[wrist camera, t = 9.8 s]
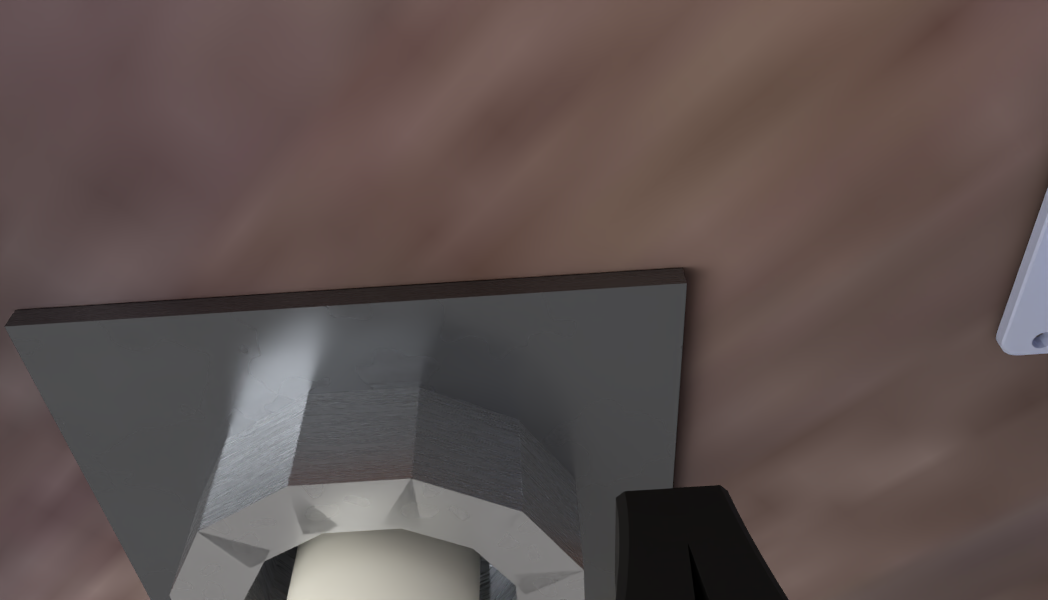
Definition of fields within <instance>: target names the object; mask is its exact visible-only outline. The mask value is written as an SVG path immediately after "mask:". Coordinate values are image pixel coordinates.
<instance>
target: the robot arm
mask: <svg viewBox="0 0 1048 600" xmlns="http://www.w3.org/2000/svg"><path fill="white" fill-rule="evenodd" d="M1041 333H1043V334H1042V335H1040V336H1038V337H1036V336H1037V335H1039V334H1041ZM996 340H997V342H998V344H999V345H1000V347H1001V348H1002V350H1003V351H1004V352H1005V353H1007V354H1009V355H1030V354H1046V353H1048V188H1047V191H1046V194H1045V197H1044V200H1043V202H1042V205H1041V208H1040V211H1039V214H1038V217H1037V220H1036V222H1035V225H1034V228H1033V231H1032V234H1031V237H1030V240H1029V242H1028V245H1027V248H1026V251H1025V254H1024V257H1023V260H1022V262H1021V265H1020V268H1019V271H1018V274H1017V277H1016V280H1015V282H1014V285H1013V288H1012V291H1011V294H1010V297H1009V300H1008V302H1007V305H1006V308H1005V311H1004V314H1003V317H1002V320H1001V322H1000V325H999V328H998V331H997V334H996ZM615 589H616V600H788V598H787V596H786V595H785V593H784V592H783V590H782V588H781V587H780V585H779V584H778V582H777V580H776V579H775V577H774V575H773V574H772V572H771V570H770V569H769V567H768V565H767V564H766V562H765V560H764V559H763V557H762V555H761V553H760V552H759V550H758V548H757V546H756V545H755V543H754V541H753V539H752V538H751V536H750V534H749V532H748V530H747V528H746V527H745V525H744V523H743V521H742V519H741V517H740V515H739V513H738V511H737V509H736V507H735V505H734V503H733V501H732V499H731V497H730V495H729V493H728V491H727V490H726V489H724V488H723V487H722V486H720V485H716V486H700V487H684V488H668V489H652V490H635V491H624V492H623V493H621V494H620V495H619V496H617V497H616V518H615Z"/></svg>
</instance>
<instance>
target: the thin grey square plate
mask: <svg viewBox="0 0 1048 600" xmlns="http://www.w3.org/2000/svg"><path fill="white" fill-rule="evenodd" d="M686 289H687V282H686V278H685V275H684V272H683V268H676V269H660V270H644V271H629V272H613V273H597V274H582V275H566V276H550V277H534V278H519V279H503V280H487V281H472V282H456V283H440V284H424V285H409V286H393V287H377V288H362V289H346V290H330V291H315V292H299V293H283V294H267V295H252V296H236V297H220V298H205V299H189V300H173V301H157V302H142V303H126V304H110V305H95V306H79V307H63V308H48V309H32V310H16V311H14V313H13V314H12V316H11V317H10V319H9V320H8V322H7V323H6V325H5V326H4V327H5V329H6V330H7V332H8V334H9V336H10V338H11V340H12V342H13V343H14V345H15V347H16V349H17V351H18V353H19V355H20V357H21V358H22V360H23V362H24V364H25V366H26V368H27V370H28V371H29V373H30V375H31V377H32V379H33V381H34V383H35V385H36V386H37V388H38V390H39V392H40V394H41V396H42V398H43V399H44V401H45V403H46V405H47V407H48V409H49V411H50V412H51V414H52V416H53V418H54V420H55V422H56V424H57V426H58V427H59V429H60V431H61V433H62V435H63V437H64V439H65V440H66V442H67V444H68V446H69V448H70V450H71V452H72V454H73V455H74V457H75V459H76V461H77V463H78V465H79V467H80V468H81V470H82V472H83V474H84V476H85V478H86V480H87V482H88V483H89V485H90V487H91V489H92V491H93V493H94V495H95V496H96V498H97V500H98V502H99V504H100V506H101V508H102V510H103V511H104V513H105V515H106V517H107V519H108V521H109V523H110V524H111V526H112V528H113V530H114V532H115V534H116V536H117V538H118V539H119V541H120V543H121V545H122V547H123V549H124V551H125V552H126V554H127V556H128V558H129V560H130V562H131V564H132V566H133V567H134V569H135V571H136V573H137V575H138V577H139V579H140V580H141V582H142V584H143V586H144V588H145V590H146V592H147V594H148V595H149V597H150V599H151V600H287V596H288V591H289V586H290V582H291V577H292V572H293V567H294V563H295V558H296V553H297V548H298V545H300V544H302V543H304V542H306V541H308V540H310V539H312V538H314V537H316V536H319V535H321V534H323V533H337V532H353V531H370V530H386V529H405V530H409V531H412V532H416V533H419V534H423V535H426V536H430V537H433V538H437V539H441V540H444V541H448V542H451V543H455V544H458V545H462V546H466V547H469V548H473V549H474V550H475V551H476V552H478V553H479V554H480V597H479V600H616V589H615V518H616V497H617V496H619V495H620V494H621V493H623V492H624V491H635V490H652V489H668V488H673V476H674V461H675V447H676V433H677V418H678V404H679V389H680V375H681V361H682V346H683V332H684V317H685V303H686Z"/></svg>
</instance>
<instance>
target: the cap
mask: <svg viewBox="0 0 1048 600" xmlns="http://www.w3.org/2000/svg"><path fill="white" fill-rule="evenodd" d="M479 597H480V554H479V553H478V552H476V551H475V550H474V549H473V548H469V547H466V546H462V545H458V544H455V543H451V542H448V541H444V540H441V539H437V538H433V537H430V536H426V535H423V534H419V533H416V532H412V531H409V530H405V529H386V530H370V531H353V532H337V533H323V534H321V535H319V536H316V537H314V538H312V539H310V540H308V541H306V542H304V543H302V544H300V545H298V548H297V553H296V558H295V563H294V567H293V572H292V577H291V582H290V586H289V591H288V596H287V600H479Z"/></svg>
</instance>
